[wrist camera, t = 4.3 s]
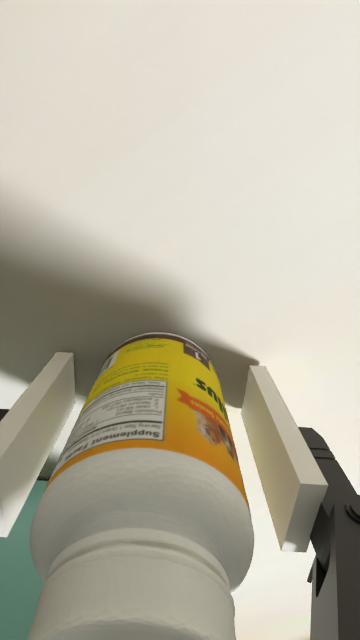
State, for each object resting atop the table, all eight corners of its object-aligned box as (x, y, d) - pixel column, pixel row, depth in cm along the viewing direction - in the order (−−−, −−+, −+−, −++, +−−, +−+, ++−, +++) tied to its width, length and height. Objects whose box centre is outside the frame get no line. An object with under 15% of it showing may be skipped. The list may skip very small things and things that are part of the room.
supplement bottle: (225, 417, 16) (296, 746, 6) (118, 434, 16) (33, 770, 7) (208, 315, 14) (274, 568, 4) (87, 337, 14) (-97, 615, 5)
